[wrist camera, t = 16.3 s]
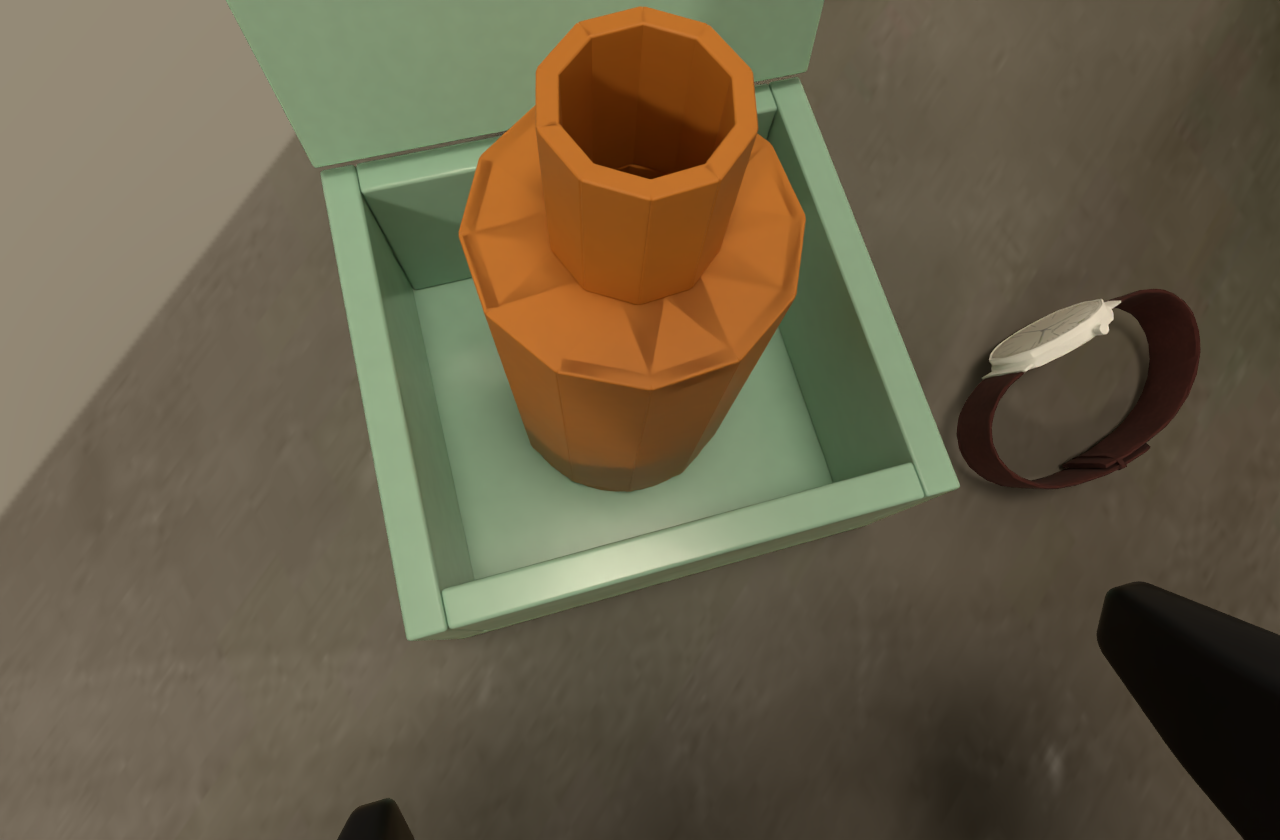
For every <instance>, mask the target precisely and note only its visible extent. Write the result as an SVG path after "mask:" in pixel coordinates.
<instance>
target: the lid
mask: <svg viewBox="0 0 1280 840" xmlns="http://www.w3.org/2000/svg"><path fill="white" fill-rule="evenodd" d="M226 2H227V3H228V5H229V7H230V9H231V11H232V13H233V15H234V17H235V19H236V20H237V22H238V24H239V26H240V28H241V30H242V32H243V34H244V36H245V38H246V40H247V42H248V44H249V45H250V47H251V49H252V51H253V53H254V55H255V57H256V59H257V61H258V63H259V64H260V66H261V68H262V70H263V72H264V74H265V76H266V78H267V80H268V81H269V83H270V85H271V87H272V89H273V91H274V93H275V95H276V97H277V99H278V101H279V102H280V104H281V106H282V108H283V110H284V112H285V114H286V116H287V118H288V120H289V121H290V123H291V125H292V127H293V129H294V131H295V133H296V135H297V137H298V139H299V141H300V142H301V144H302V146H303V148H304V150H305V152H306V154H307V156H308V158H309V160H310V161H311V163H312V165H313V166H314V167H316V168H318V167H323V166H328V165H333V164H338V163H343V162H348V161H353V160H359V159H364V158H369V157H374V156H379V155H384V154H389V153H394V152H399V151H405V150H410V149H415V148H420V147H425V146H430V145H435V144H440V143H445V142H451V141H456V140H461V139H466V138H471V137H476V136H481V135H486V134H491V133H497V132H502V131H507V130H509V129H510V128H511V127H512V126H513V125H514V124H515V123H516V122H517V121H518V120H520V119H521V118H522V117H523V116H524V115H525V114H526V113H527V112H528V111H529V110H530V109H531V108H533V107H534V106H535V86H536V70H537V67H538V66H539V65H540V63H541V62H542V61H543V60H544V59H545V58H546V57H547V56H548V54H549V53H550V52H551V51H552V50H553V49H554V48H555V47H556V46H557V44H558V43H559V42H560V41H561V40H562V39H563V38H564V37H565V35H566V34H567V33H568V32H569V31H570V30H571V29H572V28H573V26H574V25H575V24H576V23H578V22H580V21H584V20H588V19H592V18H596V17H600V16H604V15H608V14H612V13H616V12H620V11H624V10H628V9H632V8H636V7H640V6H641V7H644V6H645V7H649V8H653V9H656V10H660V11H663V12H667V13H671V14H674V15H678V16H682V17H685V18H689V19H693V20H696V21H700V22H703V23H706V24H707V25H710V26H711V27H712V28H713V29H714V30H715V31H716V32H717V33H718V34H719V35H720V37H721V38H722V39H723V40H724V41H725V42H726V43H727V44H728V45H729V46H730V47H731V48H732V49H733V50H734V51H735V52H736V53H737V54H738V55H739V57H740V58H741V59H742V60H743V61H744V62H745V63H746V64H747V65H748V66H749V67H750V68H751V70H752V72H753V76H754V82H757V81H762V80H767V79H772V78H778V77H783V76H788V75H793V74H798V73H803V72H806V71H807V69H808V65H809V61H810V57H811V52H812V48H813V44H814V40H815V36H816V32H817V28H818V24H819V20H820V16H821V12H822V8H823V4H824V0H226Z"/></svg>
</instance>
